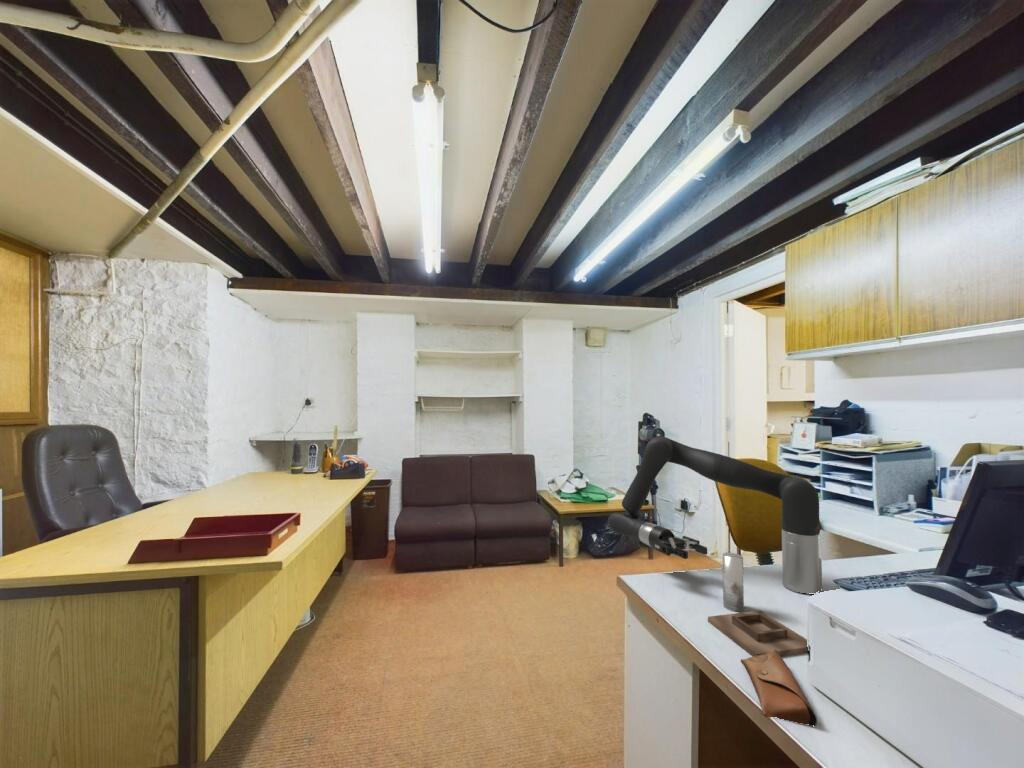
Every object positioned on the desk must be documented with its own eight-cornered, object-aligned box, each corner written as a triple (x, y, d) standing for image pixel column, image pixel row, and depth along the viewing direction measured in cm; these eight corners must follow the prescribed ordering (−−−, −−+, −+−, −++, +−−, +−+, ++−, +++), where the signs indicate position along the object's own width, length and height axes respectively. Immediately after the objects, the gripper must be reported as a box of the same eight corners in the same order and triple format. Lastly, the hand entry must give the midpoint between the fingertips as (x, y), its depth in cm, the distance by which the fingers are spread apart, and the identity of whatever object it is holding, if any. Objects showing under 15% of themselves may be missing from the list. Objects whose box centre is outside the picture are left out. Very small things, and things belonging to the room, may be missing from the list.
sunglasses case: (736, 657, 90) (753, 633, 90) (767, 678, 89) (785, 654, 88) (763, 717, 73) (784, 688, 72) (802, 746, 71) (824, 716, 71)
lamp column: (734, 602, 115) (733, 552, 116) (748, 610, 111) (747, 558, 111) (719, 603, 114) (718, 553, 115) (732, 612, 110) (731, 560, 110)
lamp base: (760, 615, 108) (760, 603, 109) (816, 651, 93) (816, 637, 93) (707, 621, 105) (707, 609, 105) (757, 659, 89) (756, 645, 90)
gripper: (640, 528, 134) (680, 544, 120) (670, 523, 141) (712, 537, 126) (640, 551, 134) (680, 570, 120) (670, 544, 141) (712, 562, 126)
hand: (697, 553), depth 123 cm, fingers open, 8 cm apart
